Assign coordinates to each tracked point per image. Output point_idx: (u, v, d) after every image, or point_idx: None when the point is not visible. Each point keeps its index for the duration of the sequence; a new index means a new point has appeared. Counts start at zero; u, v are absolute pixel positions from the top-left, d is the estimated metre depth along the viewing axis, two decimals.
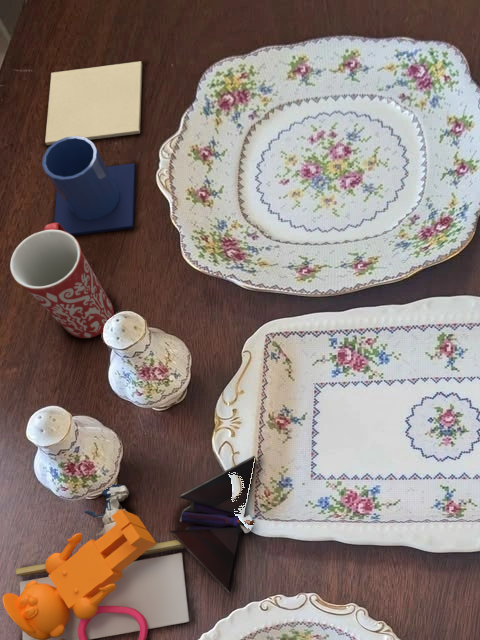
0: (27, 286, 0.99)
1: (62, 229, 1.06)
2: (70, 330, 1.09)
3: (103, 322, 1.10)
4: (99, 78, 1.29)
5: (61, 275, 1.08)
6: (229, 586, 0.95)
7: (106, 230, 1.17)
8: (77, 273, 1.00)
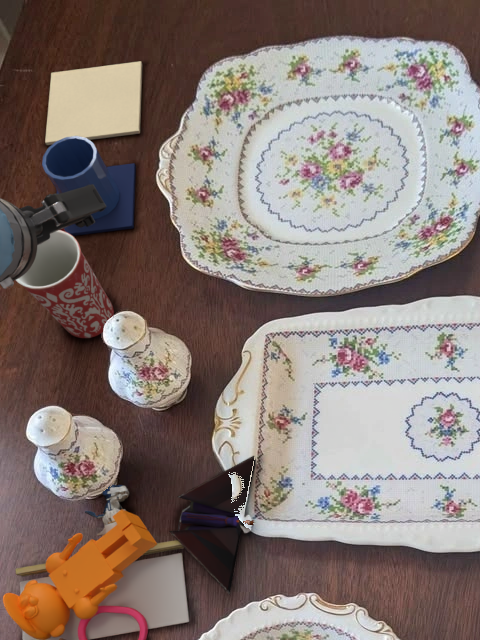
0: (27, 286, 0.99)
1: (62, 229, 1.06)
2: (70, 330, 1.09)
3: (103, 322, 1.10)
4: (99, 78, 1.29)
5: (61, 275, 1.08)
6: (229, 586, 0.95)
7: (106, 230, 1.17)
8: (77, 273, 1.00)
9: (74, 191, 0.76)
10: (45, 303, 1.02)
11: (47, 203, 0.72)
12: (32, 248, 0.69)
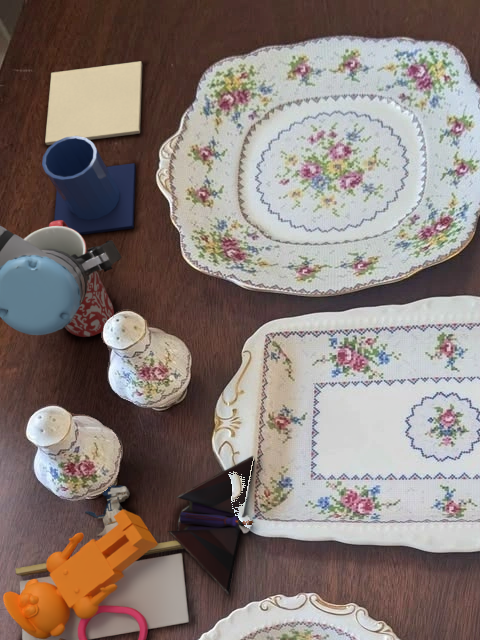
0: None
1: (66, 227, 1.06)
2: (70, 328, 1.09)
3: (103, 321, 1.10)
4: (99, 78, 1.29)
5: None
6: (228, 586, 0.95)
7: (106, 230, 1.17)
8: None
9: (106, 245, 1.00)
10: None
11: (96, 253, 0.95)
12: (85, 291, 0.91)
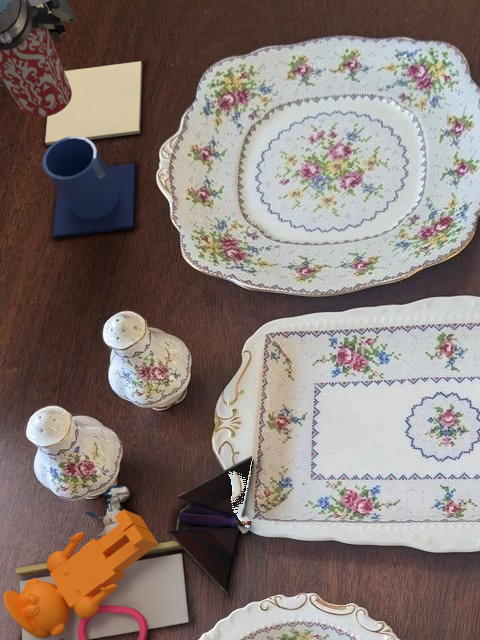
0: None
1: None
2: (23, 104, 1.03)
3: (59, 98, 1.04)
4: (99, 78, 1.29)
5: None
6: (227, 586, 0.95)
7: (106, 230, 1.17)
8: None
9: None
10: None
11: None
12: (28, 18, 0.85)
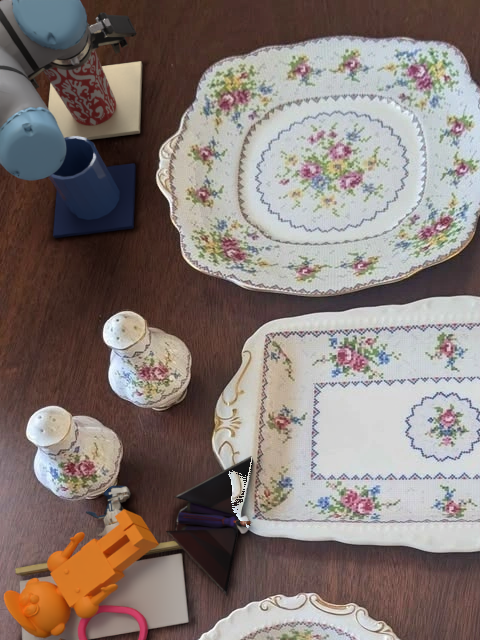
0: None
1: None
2: (77, 115, 1.23)
3: (107, 109, 1.24)
4: None
5: None
6: (226, 586, 0.95)
7: (106, 230, 1.17)
8: None
9: (116, 16, 1.12)
10: (56, 79, 1.16)
11: (99, 18, 1.08)
12: (90, 44, 1.05)
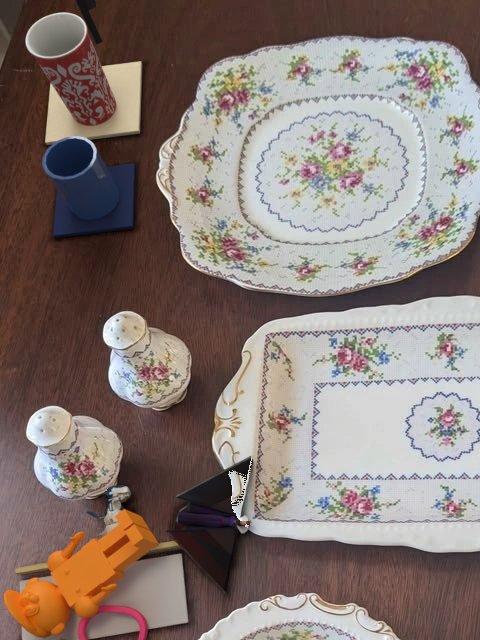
0: (40, 56, 1.12)
1: None
2: (77, 115, 1.23)
3: (107, 109, 1.24)
4: None
5: None
6: (225, 586, 0.95)
7: (106, 230, 1.17)
8: (84, 48, 1.14)
9: None
10: (56, 79, 1.16)
11: None
12: None
